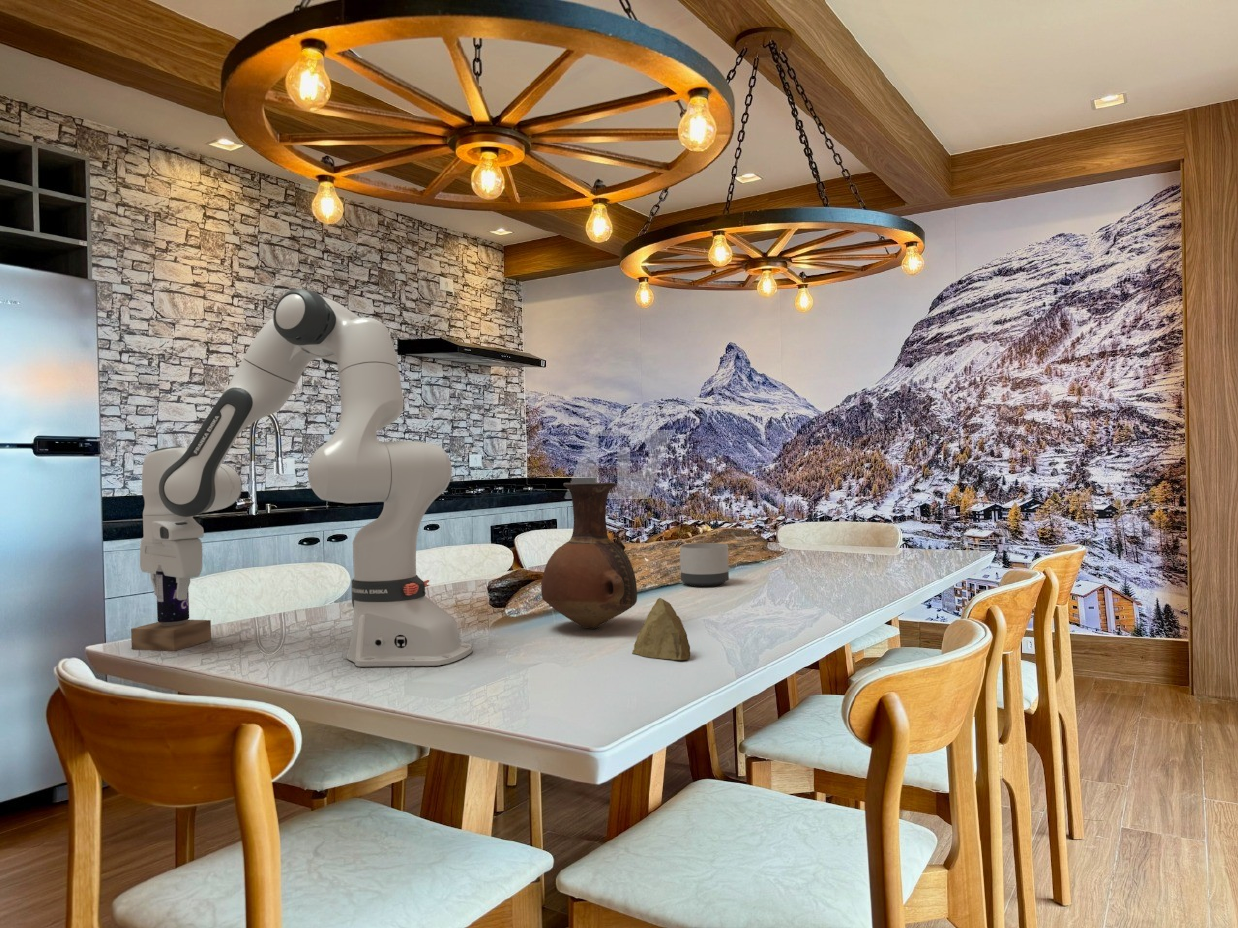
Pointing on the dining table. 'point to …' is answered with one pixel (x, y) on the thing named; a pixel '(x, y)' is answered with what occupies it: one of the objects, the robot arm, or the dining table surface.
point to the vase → (589, 564)
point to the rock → (662, 634)
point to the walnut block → (170, 635)
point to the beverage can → (170, 601)
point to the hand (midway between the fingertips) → (170, 597)
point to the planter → (704, 564)
